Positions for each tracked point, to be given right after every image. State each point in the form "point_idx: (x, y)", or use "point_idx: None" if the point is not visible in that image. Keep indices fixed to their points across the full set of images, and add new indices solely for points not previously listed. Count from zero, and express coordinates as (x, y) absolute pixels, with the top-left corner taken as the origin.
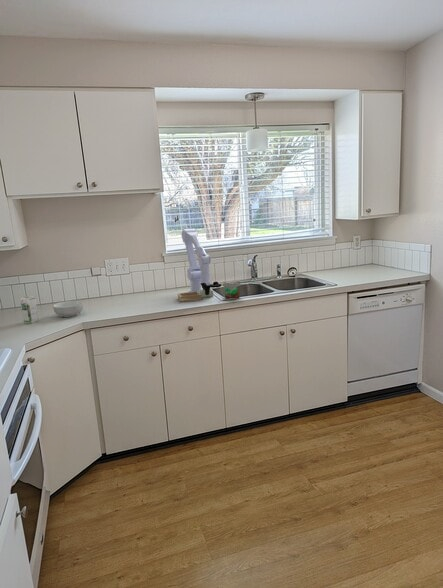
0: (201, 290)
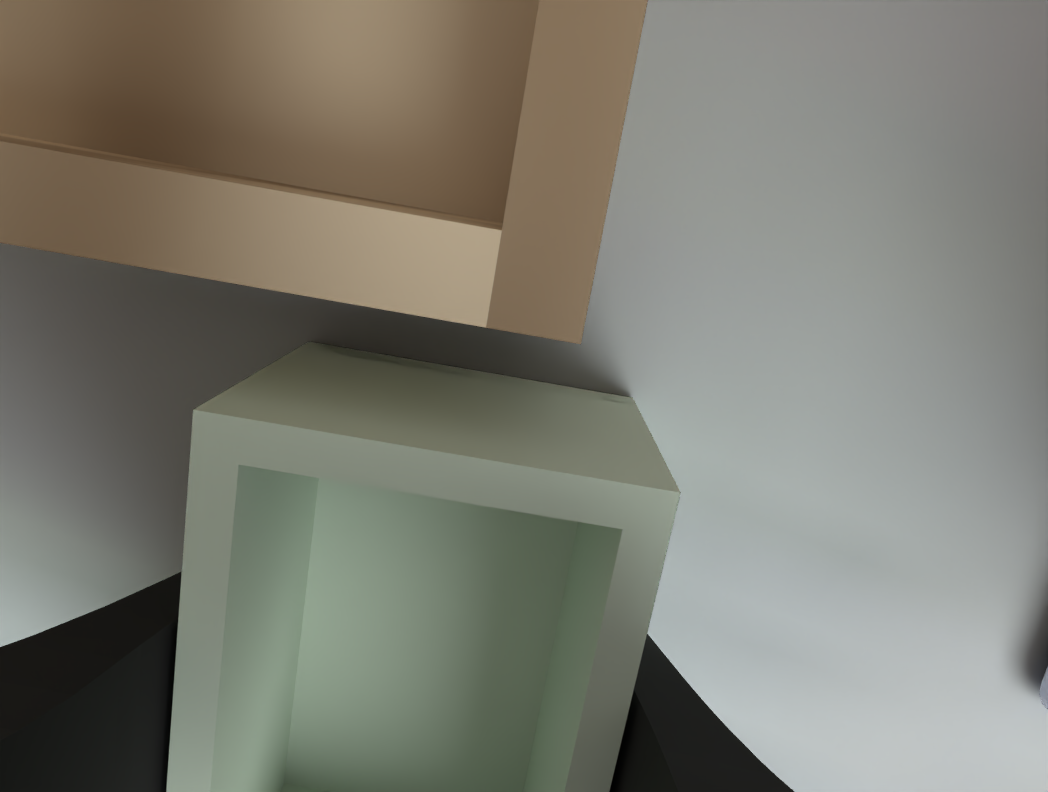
0: (606, 579)
